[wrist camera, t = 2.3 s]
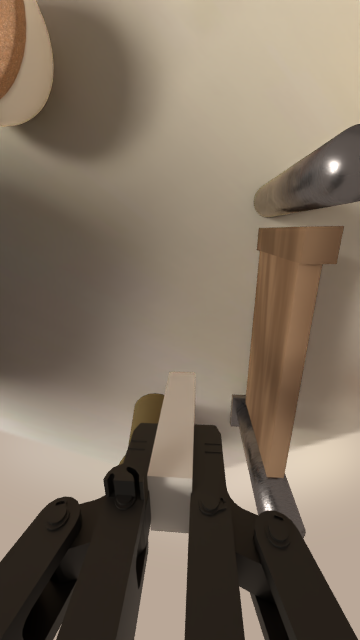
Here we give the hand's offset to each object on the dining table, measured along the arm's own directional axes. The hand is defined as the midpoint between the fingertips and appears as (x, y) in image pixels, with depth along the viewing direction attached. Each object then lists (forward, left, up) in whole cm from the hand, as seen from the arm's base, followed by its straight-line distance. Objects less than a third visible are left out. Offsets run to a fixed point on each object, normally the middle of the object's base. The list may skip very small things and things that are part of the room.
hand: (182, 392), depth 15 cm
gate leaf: (+8, -1, -14) cm, 16 cm away
